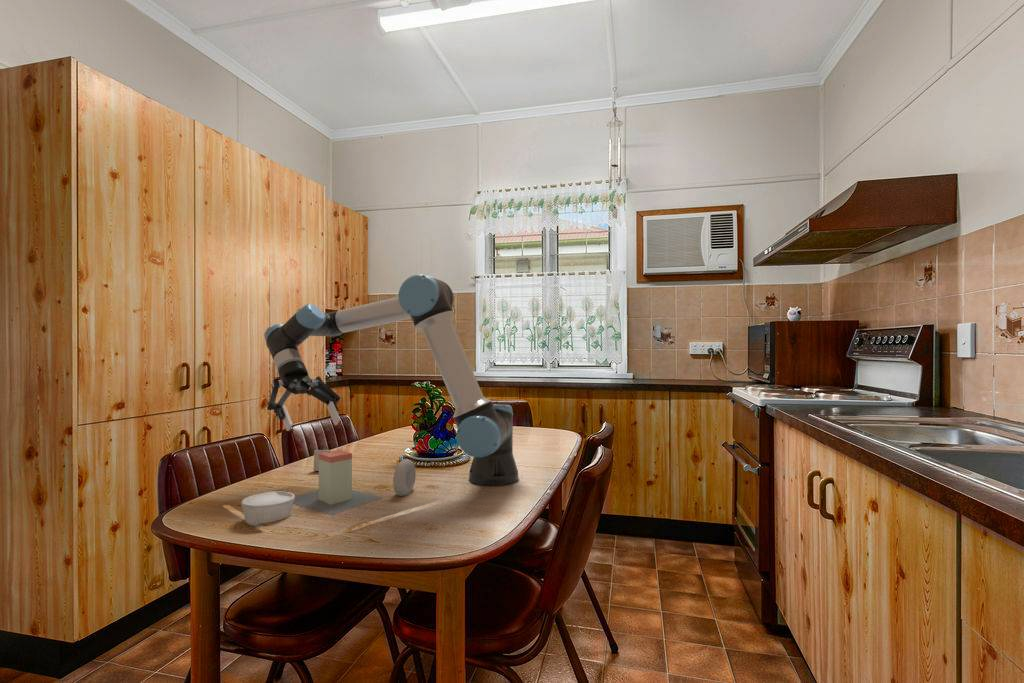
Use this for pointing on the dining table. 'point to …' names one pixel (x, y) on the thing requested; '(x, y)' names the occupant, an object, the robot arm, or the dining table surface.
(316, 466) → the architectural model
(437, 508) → the dining table surface
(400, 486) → the grey wheel
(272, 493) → the ramekin
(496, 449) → the robot arm
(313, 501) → the slate mat
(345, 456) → the sage block
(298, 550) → the dining table surface
